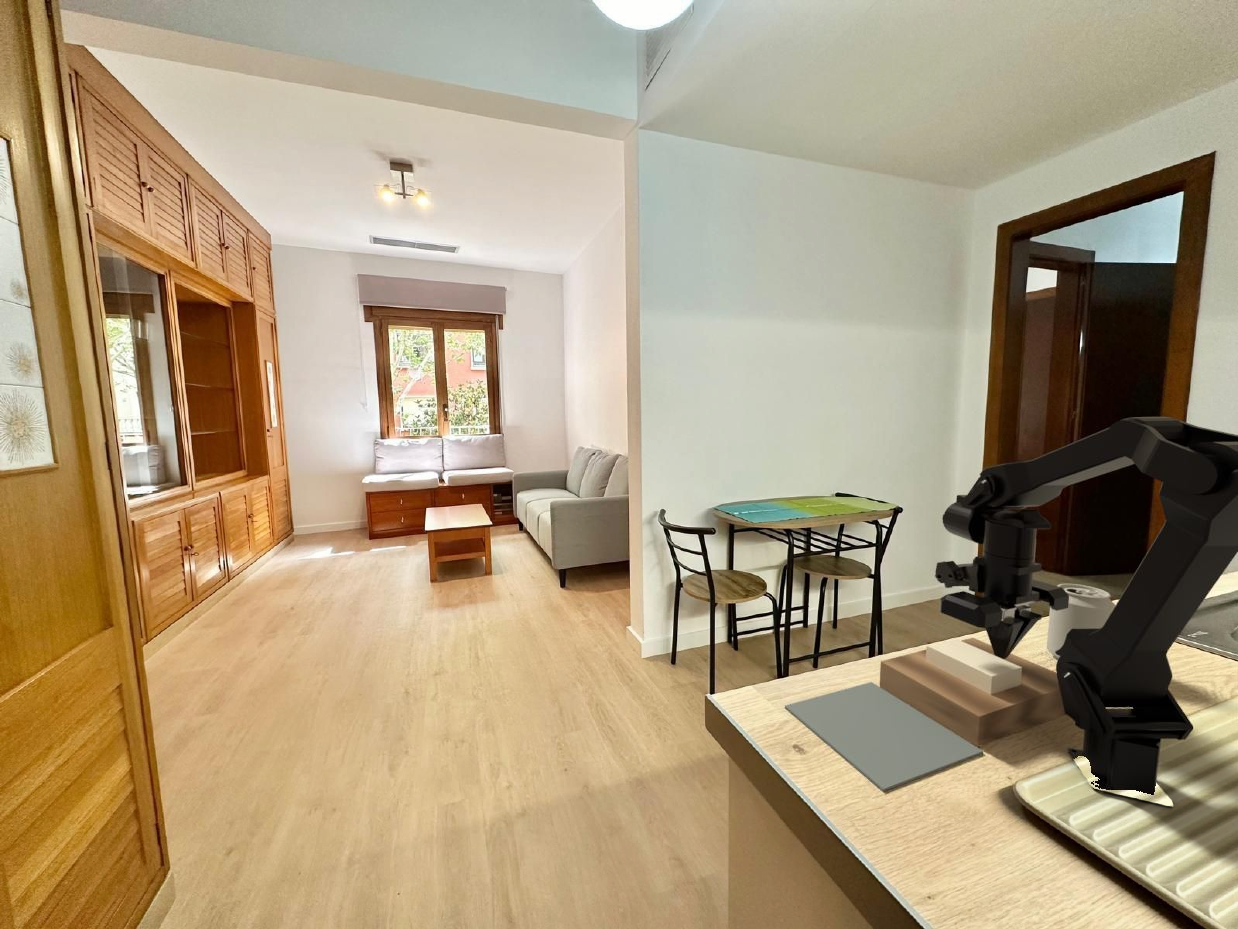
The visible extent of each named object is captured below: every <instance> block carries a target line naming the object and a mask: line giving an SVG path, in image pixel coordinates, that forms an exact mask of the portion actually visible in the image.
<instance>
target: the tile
mask: <svg viewBox="0 0 1238 929" xmlns="http://www.w3.org/2000/svg"><path fill="white" fill-rule="evenodd" d="M925 650H926V662H927V663H929V664H931V665H933V666H935V667H937V668H939V669H941V670H943V671H945V672H947V673H949V674H951V675H953V676H955V677H957V678H959V679H961V680H963V681H965V682H967V683H969V684H971V685H973V686H975V687H977V688H979V689H981V690H982V691H984V692H986V693H988V694H990V695H991V694H994V693H997V692H1000V691H1004V690H1007V689H1010V688H1013V687H1016V686H1019V685H1021V673H1022V667H1020V666H1017V665H1015V664H1013V663H1011V662H1008V661H1006V660H1004V659H1001V658H999V657H997V656H994V655H992V654H990V653H988V652H985V651H983V650H981V649H978V648H976V647H974V646H971V645H969V644H967V643H965V642H962V640H959V639H957V638H955V637H954V638H950V639H947V640H943V641H939V642H935V643H931V644H927V645H926V649H925Z"/></svg>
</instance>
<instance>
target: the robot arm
mask: <svg viewBox="0 0 1238 929" xmlns="http://www.w3.org/2000/svg"><path fill="white" fill-rule="evenodd" d="M1134 464H1135V466H1136V467H1137V468H1138V469H1139V470H1140V472H1141V473H1142V474H1145V475H1147V476H1148V477H1150V478H1152V479H1155V480H1157V481H1159V482H1161V483H1162V484H1161V486H1160V489H1159V493H1158V497H1159V499H1160V503H1161V507H1162V510H1163V514H1164V518H1165V522H1164V524H1163V526H1162V527H1161V529H1160V531H1159V533H1158V534H1157V536H1156V538H1155V539H1154V541H1153V542H1152V543H1151V545H1150V546H1149V547H1150V548H1148V551H1147V553H1146V554H1145V556H1144V557H1143V559H1142V560H1141V563H1140V564H1139V566H1138V568H1137V569H1136V570H1135V572H1134V574H1133V576H1132V577H1131V579H1130V581H1129V583H1128V584H1127V586H1126V587H1125V589H1124V591H1123V592H1122V594H1121V596H1120V597H1119V599H1118V601H1117V603H1116V604H1115V607H1114V609H1113V611H1112V612H1111V614H1110V616H1109V617H1108V619H1107V621H1106V622H1105V624H1104V626H1103V627H1102V628H1090V629H1071V630H1070V631H1069V632H1068V633H1067V635H1066V639H1065V642H1064V644H1063V646H1062V647H1061V648H1060V649H1059V650H1057V651H1055V653H1056V654H1057V655H1059V656H1060V657H1059V659H1057V661H1056V664H1055V672H1056V673H1057V678H1058V683H1059V688H1060V692H1061V697H1062V702H1063V706H1064V711H1065V715H1066V716H1068V717H1069V718H1071V719H1072V720H1073V723H1074V726H1075V727H1077V728H1078V729H1081V730H1084V731H1083V732H1084V734H1083V741H1082V742H1083V743H1082V749H1079V748H1078V749H1076V748H1072V747H1069V748H1067V754H1068V755H1069V757H1070V758H1071V759H1072V760H1073V759H1075V758H1077V757H1078V756H1084V757H1086V758H1087V759H1088V760H1089V762H1090V766H1091V773H1092V774H1093V775H1095V777H1098V778H1099V779H1100V780H1099V779H1098V781H1095V783H1097V784H1099V786H1098V785H1095V787H1098V788H1099V789H1100V788H1101V789H1106V790H1136V791H1139V792H1140V791H1141V792H1143V793H1147V794H1151V795H1154V792H1155V786H1156V782H1157V779H1158V769H1159V762H1160V752H1161V745H1162V744H1161V743H1162V740H1178V741H1185V740H1187V739H1188V737H1189V735H1190V734H1191V733H1192V731H1193V730H1194V725H1193V723H1192V722H1191V720H1190V719H1189V718H1188V716H1187V715H1186V713H1185V711H1184V710H1183V709H1182V707H1181V706H1180V704H1179V703H1178V702H1177V700H1176V698H1175V697H1174V696H1173V693H1171V691H1170V690H1169V687H1170V684H1171V682H1172V680H1173V672H1172V668H1171V665H1170V661H1169V659H1168V652H1169V650H1170V648H1171V647H1172V646H1173V645H1174V643H1175V641H1176V640H1177V639H1178V637H1179V636H1180V634H1181V633H1182V632H1183V630H1184V629H1185V627H1186V626H1187V624H1188V623H1189V622H1190V620H1191V619H1192V617H1193V616H1194V615H1195V613H1196V611H1197V610H1198V609H1199V608H1200V606H1201V605H1202V603H1203V602H1204V601H1205V599H1207V598H1206V597H1207V596H1208V595H1209V593H1210V592H1211V590H1212V589H1213V588H1214V586H1215V585H1216V584H1217V582H1218V580H1219V579H1220V577H1221V576H1222V575H1223V574H1224V573H1225V570H1226V569H1227V568H1228V566H1229V565H1230V564H1231V562H1232V560H1233V559H1234V558H1235V557H1236V555H1237V554H1238V434H1234V433H1228V432H1225V431H1221V430H1220V431H1219V430H1215V429H1211V428H1207V427H1201V426H1197V425H1194V424H1191V423H1188V422H1186V421H1182V420H1180V419H1176V418H1174V417H1172V416H1171V417H1170V416H1169V417H1168V416H1141V417H1140V416H1139V417H1138V416H1137V417H1136V416H1135V417H1127V418H1123V419H1121V420H1117V421H1115V422H1114V423H1112V424H1111V425H1110V426H1109V427H1107V428H1105V429H1102V430H1100V431H1098V432H1096V433H1095V432H1094V433H1093V434H1091V435H1088V436H1086V437H1083V438H1081V439H1079V440H1076V441H1073V442H1072V443H1068V444H1066V445H1064V446H1062V447H1060V448H1058V449H1055V450H1053V451H1049V452H1048V453H1045V454H1043V455H1039V456H1038V457H1036V458H1034V459H1029V460H1028V459H1027V460H1022V461H1016V462H1015V461H1014V462H1006V463H1001V464H995V465H991V466H987V467H985V468H984V469H983V470H981V471H980V473H979V477H978V478H977V480H976V481H975V483H974V484H973V485H972V487H971V488H970V490H969V491H968V493H967V494H957V495H956V501H955V502H953V503H952V504H950V505H949V506H948V507H947V508H946V510H945V511H944V513H943V514H942V524H943V527H944V528H945V530H946V531H948V533H949V534H952V535H954V536H957V537H959V538H962V539H965V540H967V541H970V542H972V543H975V544H980V545H983V546H982V555H979V556H974V558H973V559H972V563H971V562H970V563H961V564H959V563H958V564H956V562H955V561H954V560H948V561H938V562H936V568H935V572H934V573H935V574H934V577H935V578H936V580H937V582H938V583H940V584H944V587H945V588H947V589H952V588H954V587H968V591H970V592H973V593H975V594H973V593H970V592H967V591H966V590H965V591H963V590H962V591H957V592H953V593H947V594H945V595H943V596H942V597H941V598H940V601H939V612H940V613H941V614H943V615H946V616H949V617H951V618H954V619H956V620H959V621H962V622H964V623H966V624H969V625H971V626H973V627H976V628H980V629H985V630H986V634H987V636H988V639H989V642H990V645H991V646H992V649H993V652H994V655H995V656H997V657H999V658H1001V659H1006V658H1007V657H1008V656H1009V655H1010V653H1011V654H1012V652H1013V651H1014V650H1015V649H1016V648H1017V646H1018V645H1019V644H1020V642H1021V641H1022V639H1023V638H1025V636H1026V635H1027V634H1028V633H1029V632H1030V631H1031V629H1032V628H1033V627H1034V626H1035V625H1036V623H1037V622H1039V621H1040V620H1042V618H1043V615H1042V614H1039V613H1036V612H1033V611H1032V606H1030V604H1034V603H1038V602H1046V603H1049V604H1048V605H1049V608H1050V607H1051V608H1052V609H1053V610H1056V611H1058V610H1062V609H1066V608H1068V604H1069V595H1068V594H1067V593H1066V592H1065V590H1064V589H1063V588H1062V587H1058V586H1057V585H1054V584H1051V583H1047V582H1044V581H1039V580H1036V579H1034V573H1038V572H1042V565H1043V564H1042V563H1039V562H1035V555H1036V554H1035V553H1036V540H1037V530H1050V529H1051V528H1052V524H1051V523H1050V522H1049V521H1048V520H1047V518H1045V517H1044V516H1042V514H1040V511H1039V510H1037V509H1027V508H1028V507H1040V506H1043V505H1045V504H1046V503H1048V502H1050V501H1052V500H1054V499H1055V498H1057V497H1059V496H1060V494H1061V493H1062V491H1063V489H1065V488H1067V487H1068V486H1070V485H1074V484H1077V483H1080V482H1082V481H1087V480H1089V479H1092V478H1096V477H1098V476H1101V475H1105V474H1107V473H1111V472H1113V471H1117V470H1120V469H1122V468H1123V469H1124V468H1126V467H1129V466H1132V465H1134ZM1016 510H1020V511H1016ZM978 593H979V594H982V596H979V595H976V594H978ZM1093 782H1094V781H1093ZM1093 782H1091V784H1093V785H1094V783H1093Z"/></svg>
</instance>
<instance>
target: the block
mask: <svg viewBox="0 0 1238 929" xmlns="http://www.w3.org/2000/svg"><path fill="white" fill-rule="evenodd" d="M961 641H962V642H965V643H967V644H969V645H971V646H974V647H976V648H978V649H981V650H983V651H985V652H988V653H990V654H992V655H994V652H993V649H992V646H991V644H989V643H986V642H984V641H982V640H980V639H977V638H975V637H969V638H966V639H963V640H961ZM994 656H995V655H994ZM1004 660H1006V661H1008V662H1011V663H1013V664H1015V665H1017V666H1020V667H1022V673H1021V685H1019V686H1016V687H1013V688H1010V689H1007V690H1004V691H1000V692H997V693H994V694H991V695H990V694H988V693H986V692H984V691H982V690H981V689H979V688H977V687H975V686H973V685H971V684H969V683H967V682H965V681H963V680H961V679H959V678H957V677H955V676H953V675H951V674H949V673H947V672H945V671H943V670H941V669H939V668H937V667H935V666H933V665H931V664H929V663H927V662H926V649H923V650H920V651H915V652H911V653H908V654H904V655H903V654H902V655H900V656H896V657H892V658H889V659H885V660H884V659H883V660H881V661H880V667H879V669H880V670H879V687H880V688H882V689H884V690H885V691H887V692H888V693H890V694H892V695H893V696H895V697H897V698H898V699H900V700H901V701H903V702H905V703H906V704H908V705H909V706H911V707H913V708H914V709H916V710H917V711H919V712H921V713H922V714H924V715H926V716H927V717H929V718H930V719H932V720H934V721H935V722H937V723H938V724H940V725H942V726H943V727H945V728H947V729H948V730H950V731H951V732H953V733H955V734H956V735H958V736H959V737H961V738H963V739H964V740H966V741H967V742H969V743H971V744H972V745H974V746H976V747H977V748H979V747H981V746H984V745H987V744H990V743H992V742H995V741H997V740H1000V739H1003V738H1006V737H1009V736H1011V735H1013V734H1016V733H1019V732H1021V731H1025V730H1027V729H1030V728H1033V727H1035V726H1037V725H1041V724H1043V723H1046V722H1049V721H1051V720H1054V719H1056V718H1059V717H1062V716H1065V715H1066V714H1065V711H1064V706H1063V702H1062V697H1061V692H1060V688H1059V683H1058V678H1057V672H1056V671H1054V670H1051V669H1049V668H1046V667H1044V666H1041V665H1039V664H1037V663H1035V662H1033V661H1030V660H1028V659H1025V658H1022V657H1020V656H1018V655H1015V654H1013V653H1012V652H1011V653H1010V655H1009V656H1008V657H1007V658H1006V659H1004Z"/></svg>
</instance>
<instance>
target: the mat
mask: <svg viewBox="0 0 1238 929" xmlns="http://www.w3.org/2000/svg"><path fill="white" fill-rule="evenodd" d="M784 709H785V710H786V711H788V712H789V713H790V714H791V715H792V716H794V717H795V718H796V719H797V720H798V721H800V722H801V723H802V724H803V725H804V726H805V727H807V728H808V729H809V730H810V731H811V732H812V733H814V734H815V735H816V736H817V737H818V738H820V739H821V740H822V741H823V743H825V744H826V745H828V746H829V747H830V748H831V749H832V750H834V751H835V752H836V753H837V754H839V756H841V757H842V758H843V759H844V760H845V761H846V762H848V763H849V764H850V765H851V766H853V767H854V768H855V770H857V771H858V772H859V773H860V774H862V775H863V776H864V777H865V778H866V779H868V780H869V781H870V782H871V783H873V785H875V786H876V787H877V788H878V789H879V790H881V791H882V792H886V791H887V790H891V789H894V788H897V787H898V786H901V785H905V784H907V783H909V782H911V781H914V780H917V779H920V778H923V777H925V776H928V775H930V774H933V773H936V772H938V771H940V770H944V769H946V768H948V767H951V766H953V765H956V764H960V763H961V762H965V761H966V760H970V759H972V758H975V757H978V756H980V755H982V754H984V751H983V750H982V749H980V748H979V747H976V746H974V745H973V744H971V743H970V742H968V741H966V740H965V739H963V738H962V737H960V736H958V735H957V734H955V733H953V732H952V731H950V730H949V729H947V728H945V727H944V726H942V725H941V724H939V723H937V722H936V721H934V720H933V719H931V718H929V717H928V716H926V715H924V714H923V713H921V712H920V711H918V710H916V709H915V708H913V707H912V706H910V705H908V704H907V703H905V702H903V701H902V700H900V699H899V698H897V697H895V696H894V695H892V694H891V693H889V692H887V691H886V690H884V689H883V688H881V687H880V685H877V684H875V683H874V682H872V681H869V682H866V683H863V684H862V683H861V684H859V685H855V686H852V687H847V688H845V689H839V690H837V691H834V692H830V693H827V694H826V693H825V694H822V695H819V696H815V697H811V698H808V699H805V700H801V701H796V702H794V703H790V704H785V705H784Z"/></svg>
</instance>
